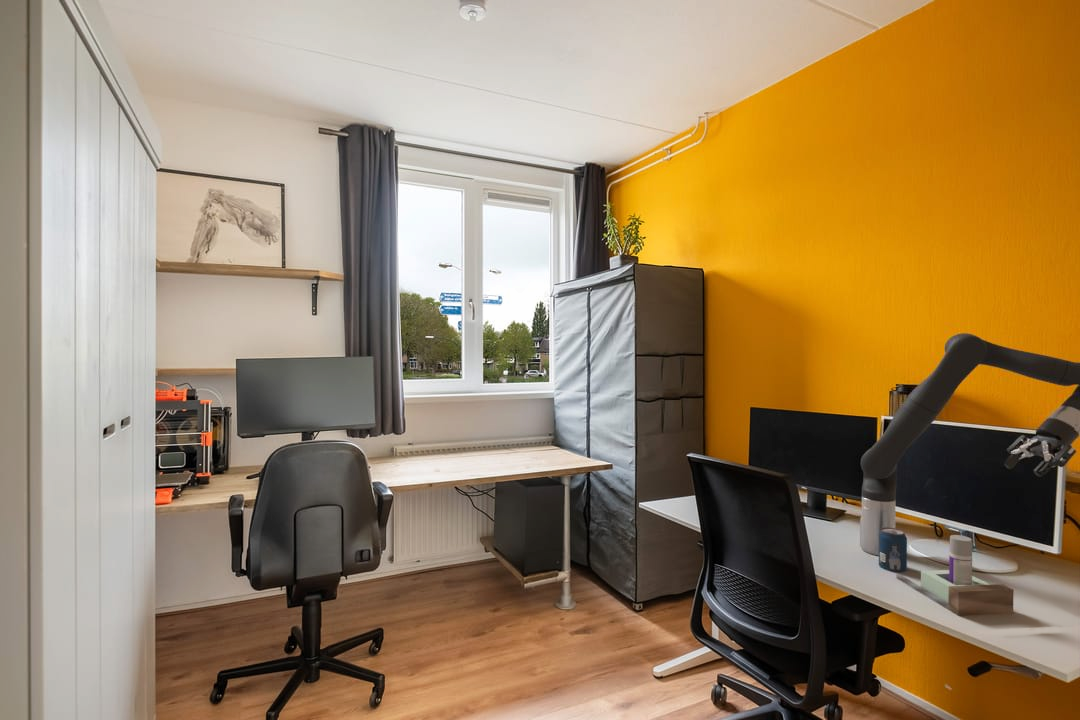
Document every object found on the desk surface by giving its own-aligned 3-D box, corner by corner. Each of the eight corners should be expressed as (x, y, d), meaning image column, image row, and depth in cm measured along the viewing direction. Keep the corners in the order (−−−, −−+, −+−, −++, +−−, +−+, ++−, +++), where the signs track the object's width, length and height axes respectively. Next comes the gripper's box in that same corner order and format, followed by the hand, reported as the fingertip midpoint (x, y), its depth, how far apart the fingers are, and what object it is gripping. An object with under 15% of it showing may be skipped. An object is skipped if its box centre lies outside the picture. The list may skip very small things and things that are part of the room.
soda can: (893, 565, 165) (894, 526, 165) (912, 575, 158) (913, 534, 158) (873, 567, 164) (873, 527, 164) (891, 577, 157) (891, 535, 157)
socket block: (920, 589, 147) (921, 571, 147) (960, 587, 147) (960, 569, 147) (954, 609, 136) (954, 589, 136) (996, 607, 136) (996, 587, 136)
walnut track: (896, 581, 154) (896, 557, 154) (943, 580, 155) (944, 555, 155) (963, 623, 131) (964, 594, 131) (1019, 621, 132) (1020, 592, 132)
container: (949, 589, 144) (949, 533, 144) (972, 594, 141) (972, 537, 141) (948, 596, 141) (948, 538, 140) (971, 601, 138) (972, 542, 137)
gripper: (1028, 413, 154) (988, 455, 153) (1081, 421, 140) (1037, 466, 139) (1046, 432, 154) (1006, 473, 154) (1100, 441, 140) (1057, 487, 140)
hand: (1021, 470), depth 147 cm, fingers open, 8 cm apart
